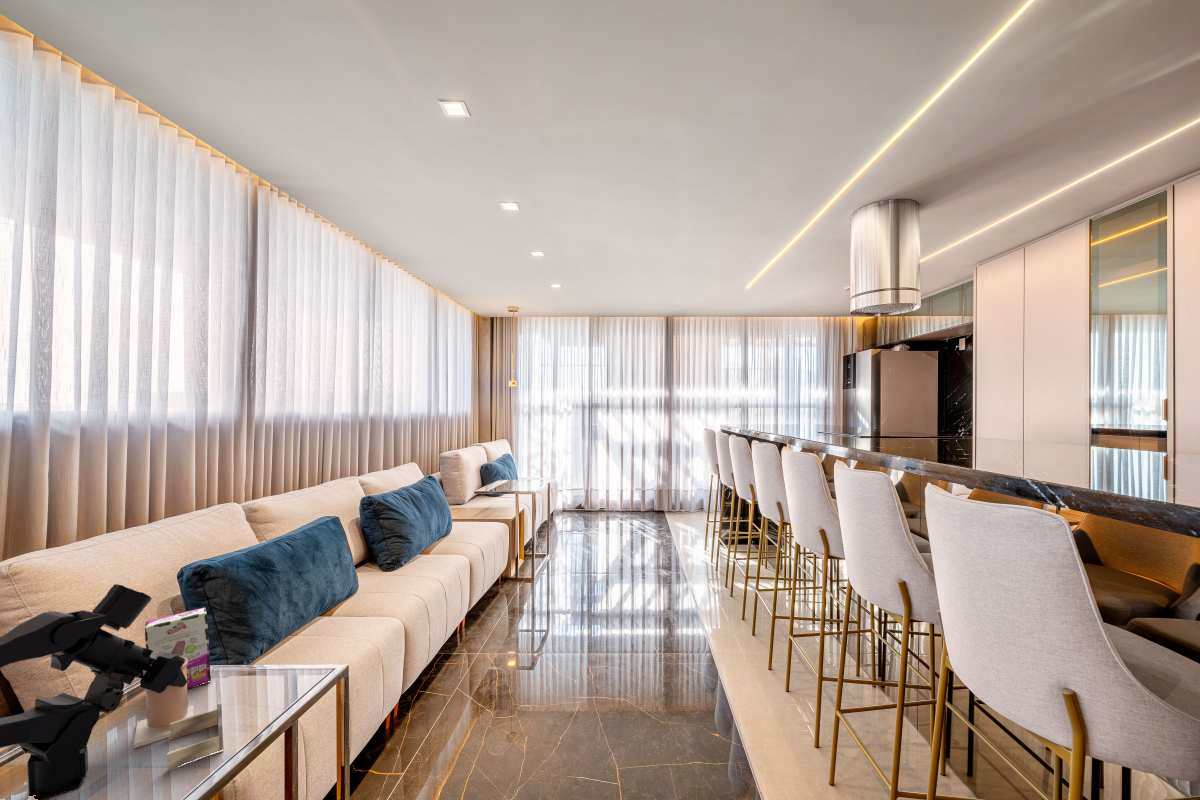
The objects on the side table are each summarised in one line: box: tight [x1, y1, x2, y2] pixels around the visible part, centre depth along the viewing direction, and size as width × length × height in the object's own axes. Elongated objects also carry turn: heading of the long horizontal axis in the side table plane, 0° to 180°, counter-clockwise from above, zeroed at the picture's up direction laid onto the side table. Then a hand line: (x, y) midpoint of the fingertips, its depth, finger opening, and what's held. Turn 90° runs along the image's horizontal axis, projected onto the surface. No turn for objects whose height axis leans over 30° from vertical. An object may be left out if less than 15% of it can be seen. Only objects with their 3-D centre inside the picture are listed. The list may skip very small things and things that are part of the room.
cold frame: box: [167, 677, 224, 772], centre depth 101 cm, size 8×12×9 cm
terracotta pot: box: [143, 657, 189, 728], centre depth 107 cm, size 7×7×11 cm
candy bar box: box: [144, 607, 212, 690], centre depth 122 cm, size 11×5×16 cm, turn 129°
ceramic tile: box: [132, 704, 195, 749], centre depth 107 cm, size 9×9×1 cm
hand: (173, 681), depth 108 cm, fingers closed on terracotta pot, 6 cm apart
